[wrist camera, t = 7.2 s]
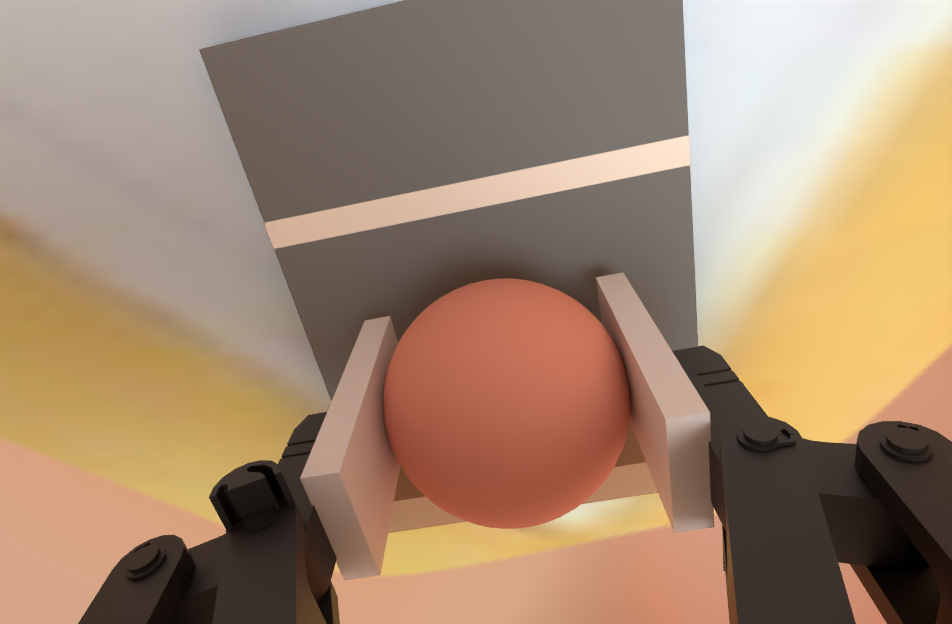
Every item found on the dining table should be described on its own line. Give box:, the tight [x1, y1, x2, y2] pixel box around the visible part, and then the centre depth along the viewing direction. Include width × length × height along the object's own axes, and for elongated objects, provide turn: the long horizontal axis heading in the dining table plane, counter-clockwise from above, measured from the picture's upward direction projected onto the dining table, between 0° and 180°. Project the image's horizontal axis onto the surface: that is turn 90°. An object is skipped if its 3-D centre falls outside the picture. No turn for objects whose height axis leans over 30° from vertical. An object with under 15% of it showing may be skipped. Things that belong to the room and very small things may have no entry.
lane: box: [200, 0, 698, 533], centre depth 16 cm, size 14×12×4 cm
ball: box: [383, 279, 631, 529], centre depth 14 cm, size 6×6×6 cm
